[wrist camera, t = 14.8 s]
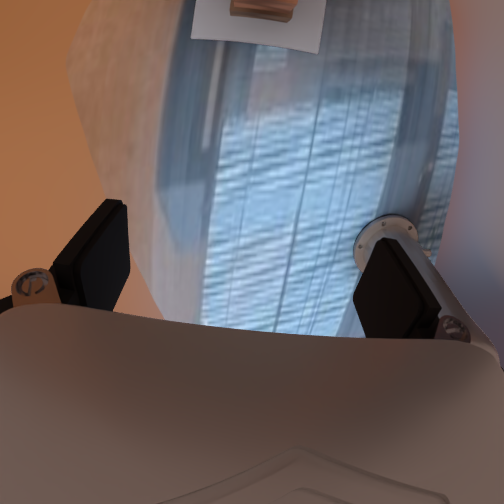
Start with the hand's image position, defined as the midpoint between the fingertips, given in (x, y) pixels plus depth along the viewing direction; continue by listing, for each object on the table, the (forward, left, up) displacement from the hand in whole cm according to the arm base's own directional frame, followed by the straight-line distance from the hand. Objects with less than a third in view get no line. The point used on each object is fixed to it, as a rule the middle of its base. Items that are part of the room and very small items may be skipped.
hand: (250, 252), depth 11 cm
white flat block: (0, -17, -32) cm, 36 cm away
